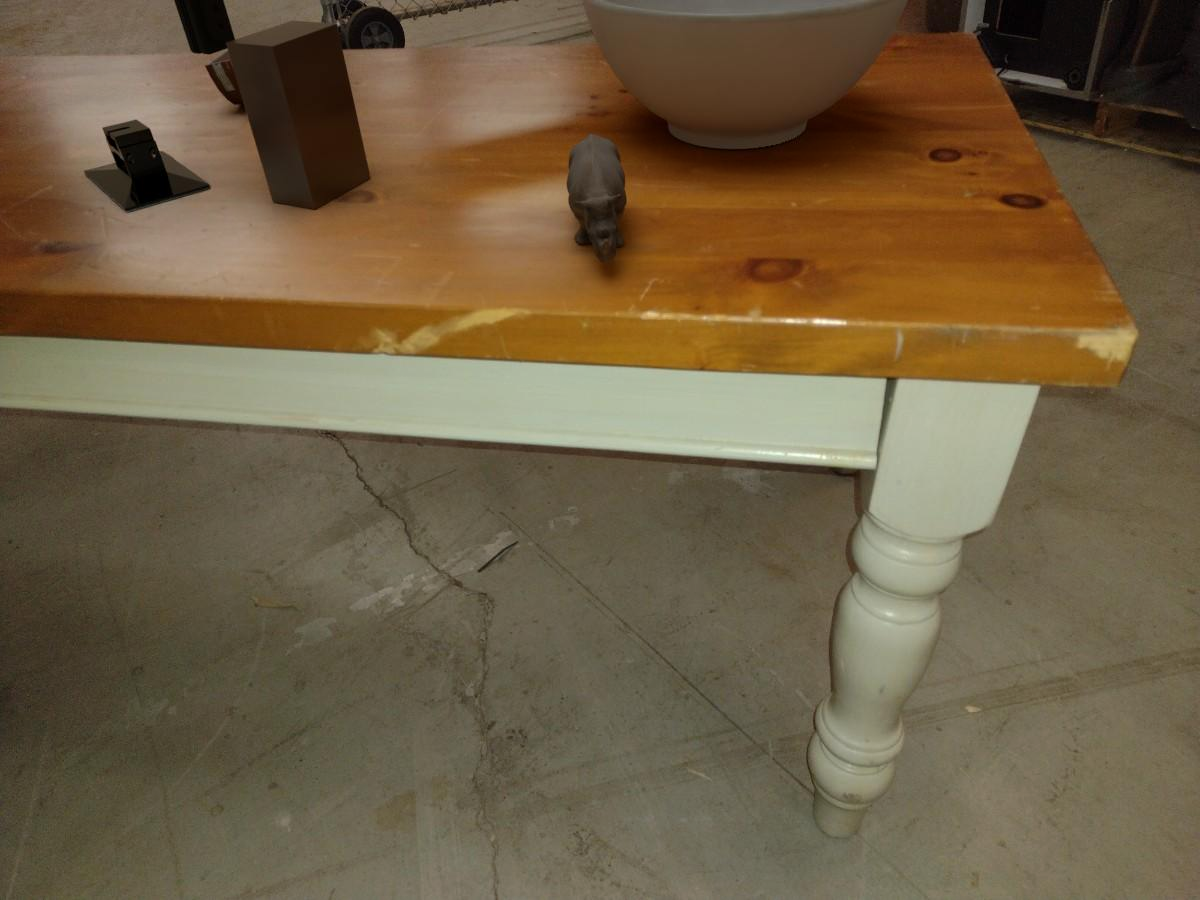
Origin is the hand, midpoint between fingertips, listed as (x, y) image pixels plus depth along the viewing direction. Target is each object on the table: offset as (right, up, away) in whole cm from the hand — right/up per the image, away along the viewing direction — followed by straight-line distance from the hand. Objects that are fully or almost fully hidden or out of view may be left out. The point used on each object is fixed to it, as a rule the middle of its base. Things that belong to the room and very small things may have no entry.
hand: (214, 49), depth 68 cm
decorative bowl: (+43, -2, +11) cm, 44 cm away
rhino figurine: (+30, -17, -7) cm, 35 cm away
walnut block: (+7, -10, +3) cm, 13 cm away
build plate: (-9, -8, +7) cm, 14 cm away
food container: (-9, +7, +24) cm, 26 cm away
